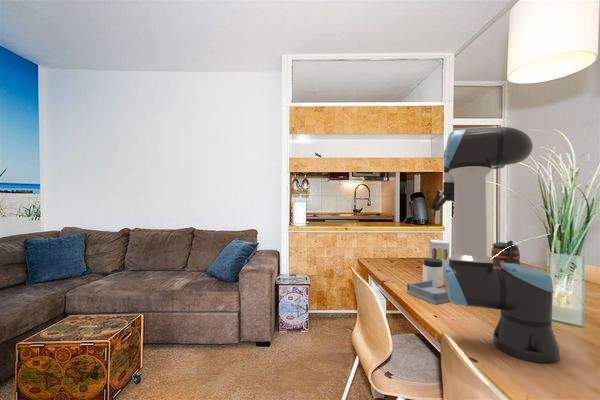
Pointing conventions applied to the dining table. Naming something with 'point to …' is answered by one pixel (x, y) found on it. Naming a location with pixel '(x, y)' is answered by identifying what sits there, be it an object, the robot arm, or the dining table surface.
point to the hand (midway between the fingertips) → (450, 225)
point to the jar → (433, 271)
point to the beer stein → (505, 254)
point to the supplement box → (439, 251)
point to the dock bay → (428, 292)
